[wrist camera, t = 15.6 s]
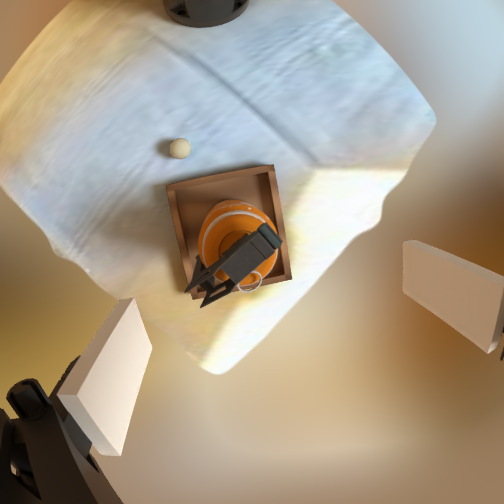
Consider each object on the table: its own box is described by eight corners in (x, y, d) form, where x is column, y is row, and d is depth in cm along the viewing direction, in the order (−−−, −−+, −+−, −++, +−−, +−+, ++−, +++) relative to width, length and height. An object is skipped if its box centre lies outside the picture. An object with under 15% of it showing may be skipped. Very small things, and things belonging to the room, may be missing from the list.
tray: (168, 185, 42) (165, 185, 39) (270, 165, 43) (273, 164, 41) (193, 293, 46) (192, 299, 44) (288, 274, 48) (292, 279, 45)
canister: (273, 229, 45) (315, 265, 25) (220, 276, 45) (224, 342, 26) (235, 186, 42) (249, 188, 23) (181, 235, 43) (154, 276, 24)
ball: (170, 142, 40) (166, 139, 37) (190, 137, 41) (188, 134, 38) (173, 162, 41) (170, 160, 38) (193, 157, 41) (191, 155, 38)
